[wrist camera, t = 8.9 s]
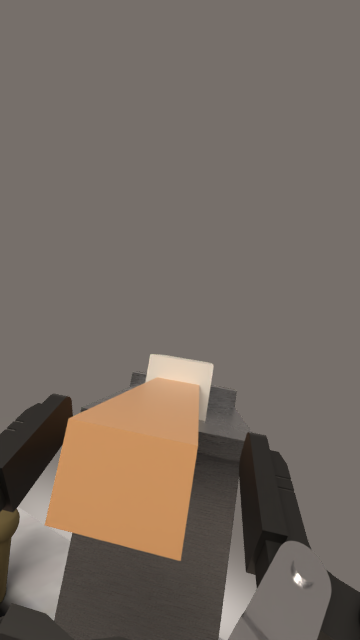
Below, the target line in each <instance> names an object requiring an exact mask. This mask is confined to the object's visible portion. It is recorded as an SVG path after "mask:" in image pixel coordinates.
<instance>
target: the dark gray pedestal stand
mask: <svg viewBox="0 0 360 640" xmlns="http://www.w3.org/2000/svg"><path fill="white" fill-rule="evenodd" d="M146 376H147V373H143V372H138V371H136V372H133V374H132V379H131V383H130V387H129V388H126V389H124V390H122V391H119V392H117V393H115V394H112V395H110V396H108V397H105V398H103V399H100V400H98V401H96V402H93V403H91V404H89V405H86V406H84V407H82V408H81V412H83V411H86V410H88V409H90V408H92V407H94V406H96V405H98V404H101V403H103V402H105V401H107V400H109V399H111V398H114V397H116V396H118V395H120V394H122V393H124V392H126V391H129V390H131V389H133V388H135V387H137V386H139V385H141V384H144V383H145V382H146ZM236 393H237V391H236V390H235V389H231V388H225V387H220V386H214V385H211V386H210V393H209V399H208V406H207V413H206V420H205V421H203V420H199V425H198V449H197V456H196V462H195V469H194V475H193V482H192V489H191V495H190V502H189V508H188V515H187V522H186V528H185V535H184V541H183V548H182V555H181V561H178V560H175V559H171V558H167V557H163V556H159V555H156V554H152V553H148V552H144V551H140V550H137V549H133V548H129V547H125V546H121V545H118V544H114V543H110V542H106V541H103V540H99V539H95V538H91V537H87V536H84V535H80V534H76V533H72V538H71V542H70V547H69V552H68V557H67V561H66V566H65V571H64V576H63V581H62V585H61V590H60V595H59V600H58V605H57V609H56V614H55V619H54V622H55V623H57V624H58V625H59V626H60V627H61V628H62V629H63V630H64V631H65V632H66V633H68V634H69V635H70V636H71V637H72V638H73V639H75V640H92V639H100V638H109V637H117V636H120V637H124V638H127V639H130V640H218V638H219V630H220V622H221V614H222V606H223V598H224V590H225V583H226V574H227V567H228V558H229V551H230V543H231V536H232V527H233V520H234V512H235V504H236V496H237V488H238V479H239V462H240V456H241V452H242V449H243V445H244V442H245V438H246V434H247V432H251V430H250V429H249V427H248V426H247V425H246V423H245V422H244V420H243V418H242V417H241V416H240V414H239V413H238V411H237V410H236V408H235V400H236ZM81 412H80V413H81ZM251 433H252V432H251Z"/></svg>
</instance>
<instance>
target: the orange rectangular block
mask: <svg viewBox="0 0 360 640" xmlns="http://www.w3.org/2000/svg"><path fill="white" fill-rule="evenodd" d="M212 372H213V364H211V363H207V362H201V361H196V360H190V359H185V358H179V357H173V356H167V355H157V354H151V355H150V361H149V366H148V371H147V376H146V382H145V383H144V384H141V385H139V386H137V387H135V388H133V389H131V390H129V391H126V392H124V393H122V394H120V395H118V396H116V397H114V398H111V399H109V400H107V401H105V402H103V403H101V404H98V405H96V406H94V407H92V408H90V409H88V410H86V411H83V412H81V413H79V414H77V415H75V416H73V417H71V418H69V419H68V423H67V428H66V432H65V437H64V441H63V446H62V450H61V455H60V459H59V464H58V468H57V473H56V477H55V482H54V486H53V491H52V496H51V500H50V504H49V508H48V513H47V518H46V522H45V525H46V526H49V527H53V528H57V529H61V530H65V531H68V532H72V533H76V534H80V535H84V536H87V537H91V538H95V539H99V540H103V541H106V542H110V543H114V544H118V545H121V546H125V547H129V548H133V549H137V550H140V551H144V552H148V553H152V554H156V555H159V556H163V557H167V558H171V559H175V560H178V561H181V555H182V548H183V541H184V535H185V528H186V522H187V515H188V508H189V502H190V495H191V489H192V482H193V475H194V469H195V462H196V456H197V449H198V425H199V420H203V421H205V420H206V413H207V406H208V399H209V393H210V386H211V379H212Z"/></svg>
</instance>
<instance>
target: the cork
mask: <svg viewBox="0 0 360 640" xmlns="http://www.w3.org/2000/svg"><path fill="white" fill-rule="evenodd" d="M19 518H20V516H19V512H18V510H17V509H16V510H15V511H14V512H13V513H12V512H9V511H5V510H2V511H1V512H0V603H1V602H2V600H3V598H4V596H5V593H6V584H7V574H8V564H9V555H10V545H11V537H12V536H13V535H14V533H15V531H16V529H17V527H18V524H19Z"/></svg>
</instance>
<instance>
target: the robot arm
mask: <svg viewBox="0 0 360 640" xmlns="http://www.w3.org/2000/svg"><path fill="white" fill-rule="evenodd" d="M71 417H73V414H72V401H71V398H70V397H68V396H63V395H58V394H52V395H50V396H49V397H48V398H47V399H46V400H45V401H44V402H43V403H42V404H40V403H38V404H36V405H34V406H32V407H30V408H29V409H27V410H25V411H24V412H23V413H22V414H21V415H20V416H19V417H18V418H17V419H16V421H15V422H13V423H12V424H10V425H9V426H8V428H7V430H4V431H3V432H2V433H1V434H0V512H1V511H2V510H5V511H9V512H12V513H13V512H14V511H15V510H16V508H17V507H18V506H19V504H20V503H21V501H22V500H23V499H24V497H25V496H26V494H27V493H28V492H29V490H30V489H31V488H32V486H33V485H34V483H35V482H36V481H37V479H38V478H39V476H40V475H41V474H42V472H43V471H44V470H45V468H46V467H47V465H48V464H49V463H50V461H51V460H52V458H53V457H54V456H55V454H56V453H57V452H58V450H59V449H60V447H61V446H62V445H63V441H64V437H65V432H66V428H67V423H68V419H69V418H71ZM239 478H240V494H241V508H242V522H243V536H244V549H245V563H246V572H247V573H251V574H254V575H256V584H257V590H256V592H255V594H254V596H253V598H252V599H251V601H250V603H249V605H248V607H247V608H246V610H245V612H244V613H243V614H242V616H241V617H240V619H239V621H238V623H237V624H236V626H235V628H234V630H233V632H232V634H231V635H230V637H229V639H228V640H360V592H358V591H356V590H355V589H353V588H351V587H350V586H348V585H347V584H345V583H344V582H342V581H340V580H339V579H337V578H336V577H334V576H333V575H332V574H331V573H330V572H328V571H327V570H326V569H325V567H324V565H323V563H322V562H321V560H320V559H319V558H318V556H317V555H316V554H315V553H314V552H313V551H312V550H311V547H310V545H309V543H308V540H307V536H306V532H305V529H304V525H303V522H302V518H301V514H300V511H299V507H298V503H297V500H296V496H295V493H294V489H293V485H292V481H291V478H290V474H289V470H288V466H287V464H286V462H285V461H284V459H283V458H282V456H281V455H280V453H279V452H276V451H271V450H270V449H269V444H268V440H267V437H266V435H260V434H256V433H251V432H247V434H246V438H245V442H244V445H243V449H242V452H241V456H240V462H239ZM0 640H75V639H73V638H72V637H71V636H70V635H69V634H68V633H66V632H65V631H64V630H63V629H62V628H61V627H60V626H59V625H58V624H57V623H55V622H54V621H53V620H52V619H51V618H50V617H49V616H48V615H47V614H45V613H42V612H39V611H35V610H32V609H29V608H26V607H22V606H19V605H16V604H13V603H12V604H11V605H10V607H9V609H8V611H7V613H6V614H5V616H3V617H0ZM92 640H130V639H127V638H124V637H120V636H117V637H109V638H100V639H92Z"/></svg>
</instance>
